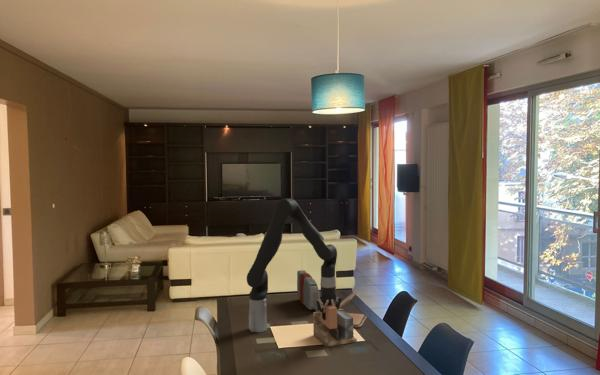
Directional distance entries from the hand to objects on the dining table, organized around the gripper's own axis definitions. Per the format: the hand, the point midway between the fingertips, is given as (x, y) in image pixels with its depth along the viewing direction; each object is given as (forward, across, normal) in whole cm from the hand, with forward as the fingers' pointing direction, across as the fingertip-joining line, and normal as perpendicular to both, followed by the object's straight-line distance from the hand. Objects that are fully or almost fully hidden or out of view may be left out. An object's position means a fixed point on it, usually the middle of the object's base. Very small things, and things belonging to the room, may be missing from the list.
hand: (328, 318), depth 225 cm
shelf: (+12, +4, +2) cm, 13 cm away
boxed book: (+3, 0, 0) cm, 3 cm away
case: (+12, +21, +24) cm, 34 cm away
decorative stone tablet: (+12, +10, +57) cm, 59 cm away
